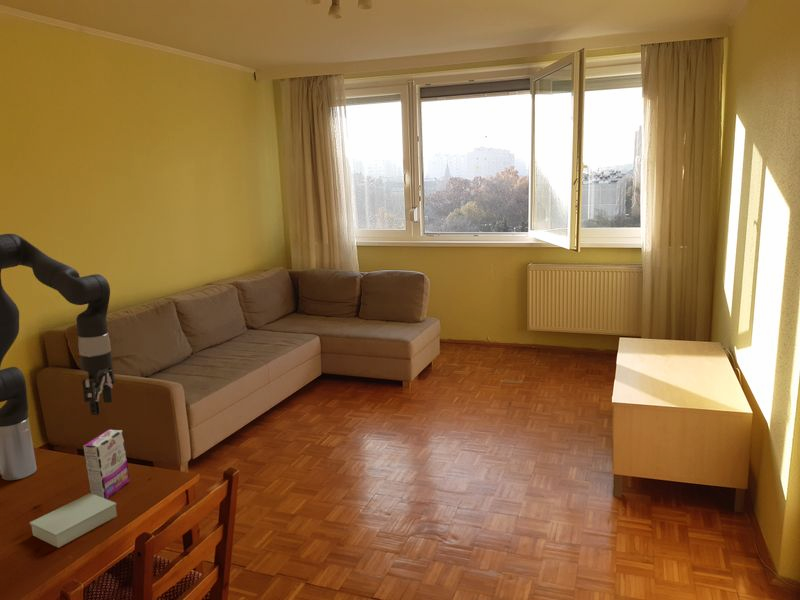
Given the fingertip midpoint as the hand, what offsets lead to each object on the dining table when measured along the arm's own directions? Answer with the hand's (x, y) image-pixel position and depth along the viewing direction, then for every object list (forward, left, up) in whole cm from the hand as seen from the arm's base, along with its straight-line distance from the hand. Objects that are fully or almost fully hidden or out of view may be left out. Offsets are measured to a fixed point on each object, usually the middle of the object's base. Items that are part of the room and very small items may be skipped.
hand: (102, 408), depth 166 cm
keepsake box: (+2, -13, -28) cm, 31 cm away
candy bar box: (-6, +3, -28) cm, 28 cm away
